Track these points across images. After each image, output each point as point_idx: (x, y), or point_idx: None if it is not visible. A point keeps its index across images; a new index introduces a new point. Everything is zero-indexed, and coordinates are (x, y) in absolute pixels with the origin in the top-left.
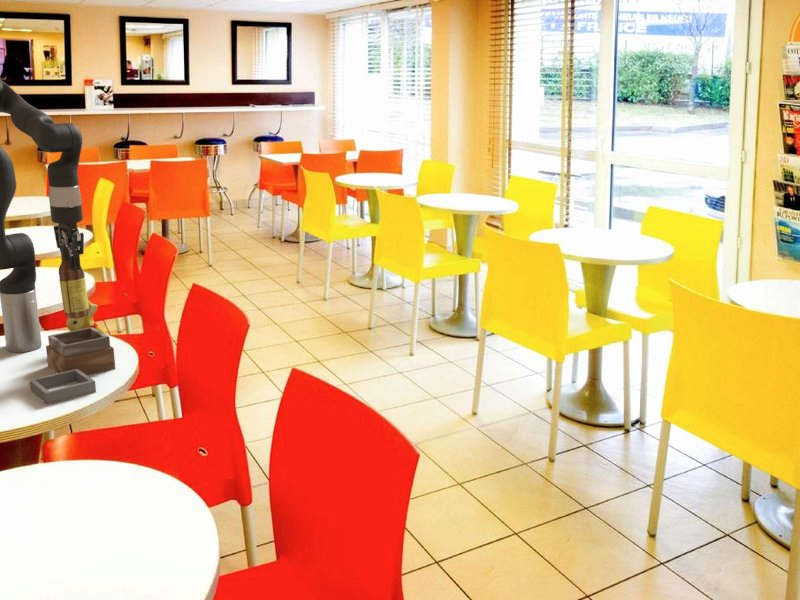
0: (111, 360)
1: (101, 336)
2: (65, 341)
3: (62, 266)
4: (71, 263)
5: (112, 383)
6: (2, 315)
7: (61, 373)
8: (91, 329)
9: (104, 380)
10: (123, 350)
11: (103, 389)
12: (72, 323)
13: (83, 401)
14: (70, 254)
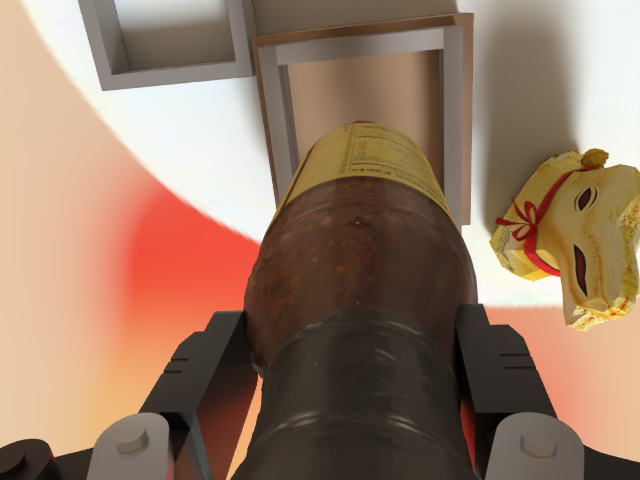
0: None
1: None
2: (439, 99)
3: (315, 261)
4: (197, 350)
5: (171, 153)
6: None
7: (231, 7)
8: None
9: (209, 141)
10: None
11: (134, 112)
12: (593, 188)
13: (60, 24)
14: (116, 432)
